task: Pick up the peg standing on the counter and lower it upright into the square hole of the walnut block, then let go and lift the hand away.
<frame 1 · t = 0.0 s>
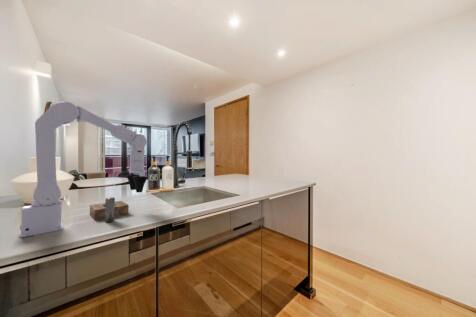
hand: (136, 190, 83), 10 cm above the worktop, tool pointing down, fingers open, 7 cm apart
hole block: (109, 214, 80), on the worktop
peg: (109, 221, 72), on the worktop
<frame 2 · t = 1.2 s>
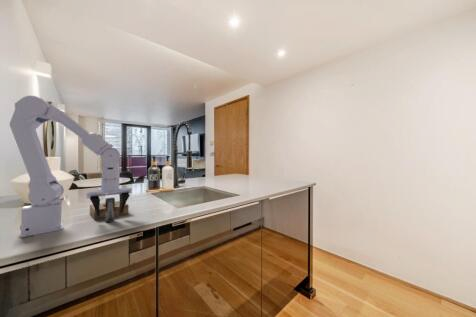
hand: (109, 213, 72), 3 cm above the worktop, tool pointing down, fingers open, 7 cm apart
nothing on the worktop moved.
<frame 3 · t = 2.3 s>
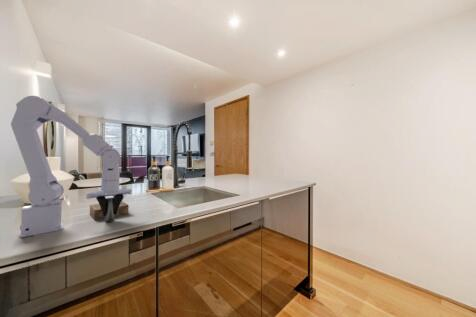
hand: (109, 214, 72), 3 cm above the worktop, tool pointing down, fingers closed on peg, 3 cm apart
peg: (109, 221, 72), on the worktop, touching gripper
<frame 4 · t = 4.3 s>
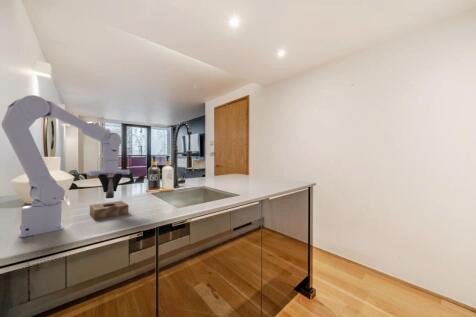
hand: (109, 191, 80), 10 cm above the worktop, tool pointing down, fingers closed on peg, 3 cm apart
peg: (109, 197, 80), point 7 cm above the worktop, touching gripper
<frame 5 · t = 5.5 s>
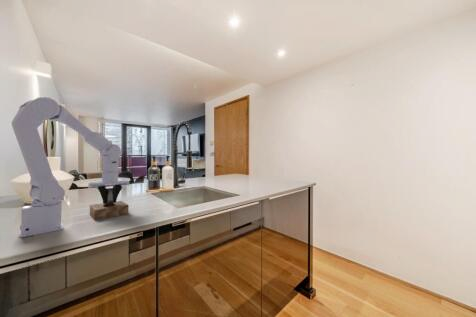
hand: (109, 202, 80), 5 cm above the worktop, tool pointing down, fingers closed on peg, 3 cm apart
peg: (109, 209, 80), point 2 cm above the worktop, touching gripper
when the fingers open (5 cm above the worktop, at t = 6.2 s): peg drops 2 cm, resting in hole block.
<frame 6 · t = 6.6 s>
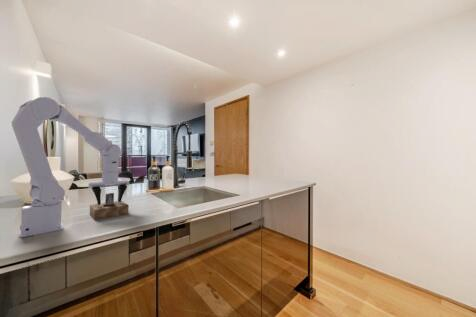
hand: (109, 202, 80), 5 cm above the worktop, tool pointing down, fingers open, 7 cm apart
peg: (109, 214, 80), resting in hole block
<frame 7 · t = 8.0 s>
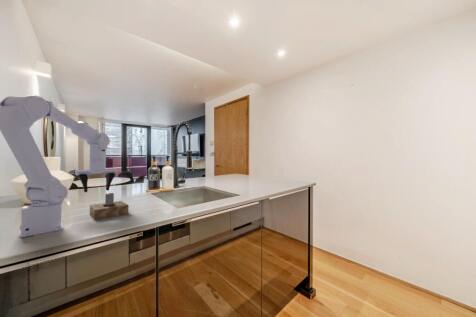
hand: (96, 190, 80), 10 cm above the worktop, tool pointing down, fingers open, 7 cm apart
nothing on the worktop moved.
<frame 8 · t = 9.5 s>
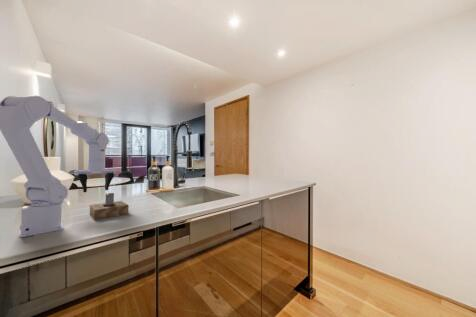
hand: (96, 190, 80), 10 cm above the worktop, tool pointing down, fingers open, 7 cm apart
nothing on the worktop moved.
at the end: peg 0.1 cm off-centre on the hole block, point 0.0 cm above the hole block's base; peg tilted 0°; the gripper is holding nothing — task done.
